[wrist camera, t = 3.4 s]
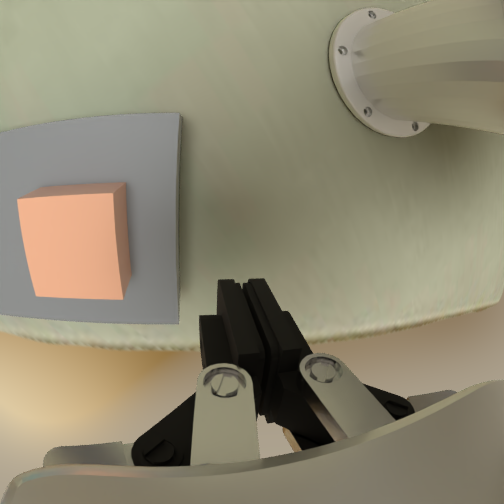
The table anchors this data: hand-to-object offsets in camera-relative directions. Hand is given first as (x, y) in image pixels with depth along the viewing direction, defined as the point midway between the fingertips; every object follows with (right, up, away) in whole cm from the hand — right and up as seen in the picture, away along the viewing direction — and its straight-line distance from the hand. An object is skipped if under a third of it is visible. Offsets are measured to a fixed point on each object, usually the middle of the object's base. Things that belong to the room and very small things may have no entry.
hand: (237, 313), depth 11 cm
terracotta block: (-10, +4, +5) cm, 12 cm away
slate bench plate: (-14, +6, +9) cm, 17 cm away
